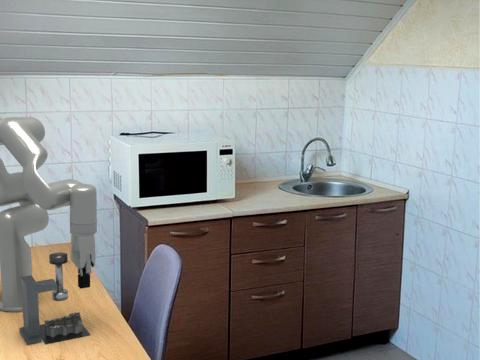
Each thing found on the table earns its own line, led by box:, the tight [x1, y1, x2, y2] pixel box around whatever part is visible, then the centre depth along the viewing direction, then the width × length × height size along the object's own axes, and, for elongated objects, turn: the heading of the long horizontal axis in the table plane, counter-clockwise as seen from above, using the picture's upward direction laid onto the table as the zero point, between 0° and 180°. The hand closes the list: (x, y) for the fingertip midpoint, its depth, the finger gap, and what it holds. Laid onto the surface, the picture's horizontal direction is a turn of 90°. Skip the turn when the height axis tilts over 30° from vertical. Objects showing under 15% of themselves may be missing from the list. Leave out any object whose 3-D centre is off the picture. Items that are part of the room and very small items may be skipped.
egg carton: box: [43, 311, 84, 337], centre depth 197 cm, size 11×8×4 cm
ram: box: [48, 252, 69, 302], centre depth 194 cm, size 5×5×13 cm
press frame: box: [18, 274, 91, 346], centre depth 195 cm, size 14×18×17 cm
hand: (84, 286), depth 199 cm, fingers closed
